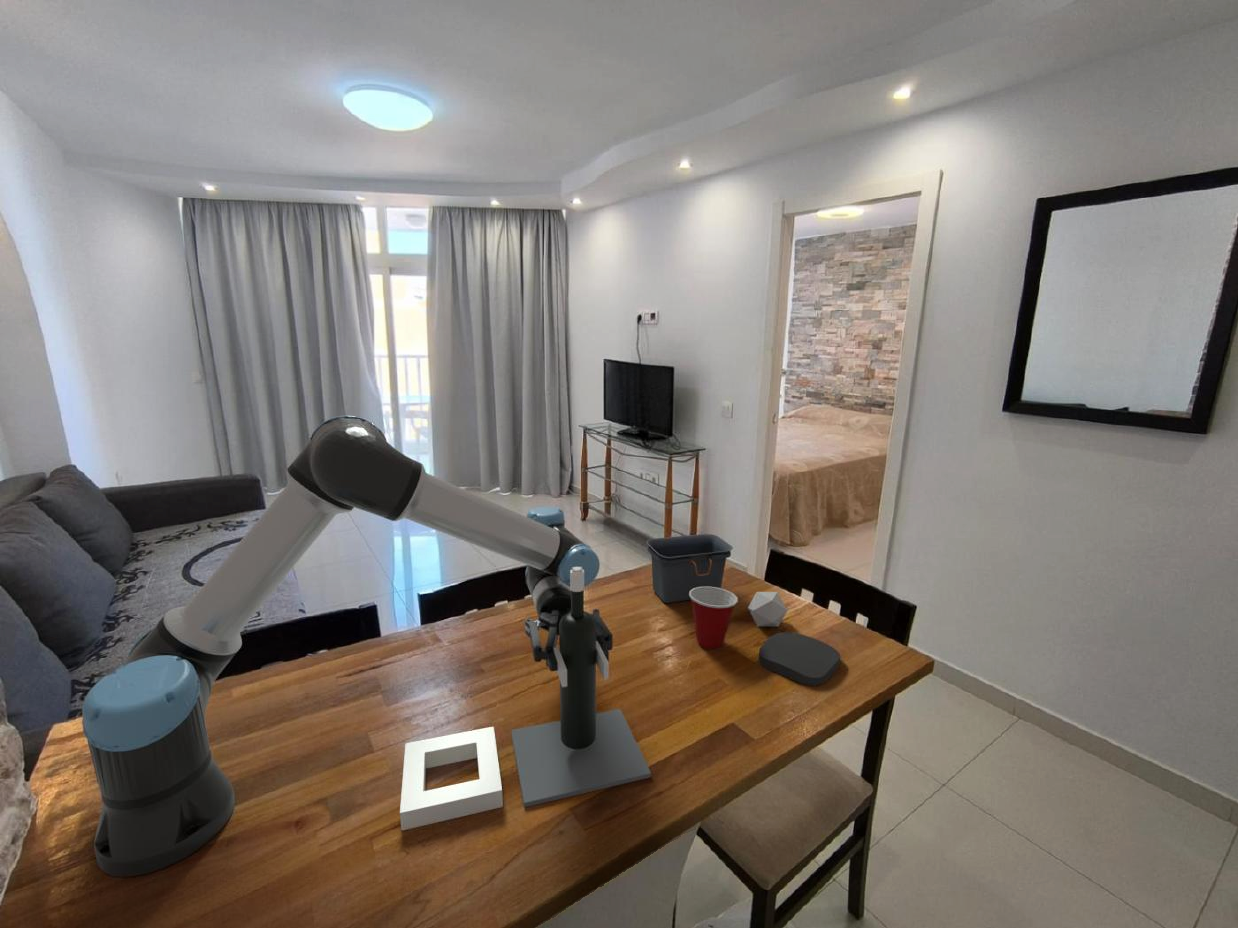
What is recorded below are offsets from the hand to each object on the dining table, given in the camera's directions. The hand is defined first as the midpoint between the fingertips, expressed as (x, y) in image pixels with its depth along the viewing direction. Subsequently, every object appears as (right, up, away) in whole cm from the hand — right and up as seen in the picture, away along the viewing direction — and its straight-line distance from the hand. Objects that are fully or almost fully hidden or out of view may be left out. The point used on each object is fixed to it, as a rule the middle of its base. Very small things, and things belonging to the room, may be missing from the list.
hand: (585, 674), depth 83 cm
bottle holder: (-21, -18, +3) cm, 28 cm away
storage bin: (+24, -4, +66) cm, 70 cm away
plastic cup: (+26, -9, +43) cm, 51 cm away
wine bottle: (-2, -14, +8) cm, 16 cm away
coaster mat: (-2, -17, +9) cm, 19 cm away
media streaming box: (+44, -11, +36) cm, 58 cm away
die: (+41, -7, +52) cm, 67 cm away
